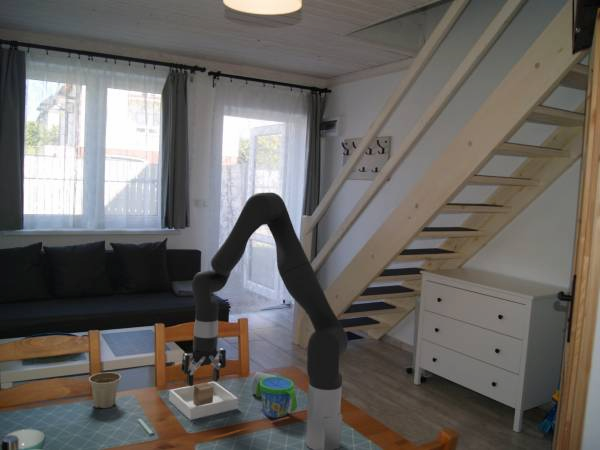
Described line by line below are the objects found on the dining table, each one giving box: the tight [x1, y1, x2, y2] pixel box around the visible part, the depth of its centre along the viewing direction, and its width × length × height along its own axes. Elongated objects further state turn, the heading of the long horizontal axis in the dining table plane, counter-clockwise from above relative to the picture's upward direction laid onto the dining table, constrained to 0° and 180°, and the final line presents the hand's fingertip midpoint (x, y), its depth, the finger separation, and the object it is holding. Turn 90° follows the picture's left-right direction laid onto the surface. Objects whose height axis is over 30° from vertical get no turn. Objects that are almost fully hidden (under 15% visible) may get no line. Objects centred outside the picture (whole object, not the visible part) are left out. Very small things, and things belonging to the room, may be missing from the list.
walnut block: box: [193, 382, 213, 406], centre depth 164 cm, size 4×4×6 cm
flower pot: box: [88, 371, 122, 409], centre depth 161 cm, size 9×9×9 cm
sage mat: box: [137, 418, 155, 436], centre depth 150 cm, size 10×10×1 cm
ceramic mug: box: [251, 371, 278, 397], centre depth 177 cm, size 11×8×8 cm
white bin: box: [168, 380, 239, 421], centre depth 164 cm, size 16×16×4 cm
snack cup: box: [255, 376, 298, 419], centre depth 161 cm, size 16×10×10 cm
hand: (203, 383), depth 164 cm, fingers open, 8 cm apart
